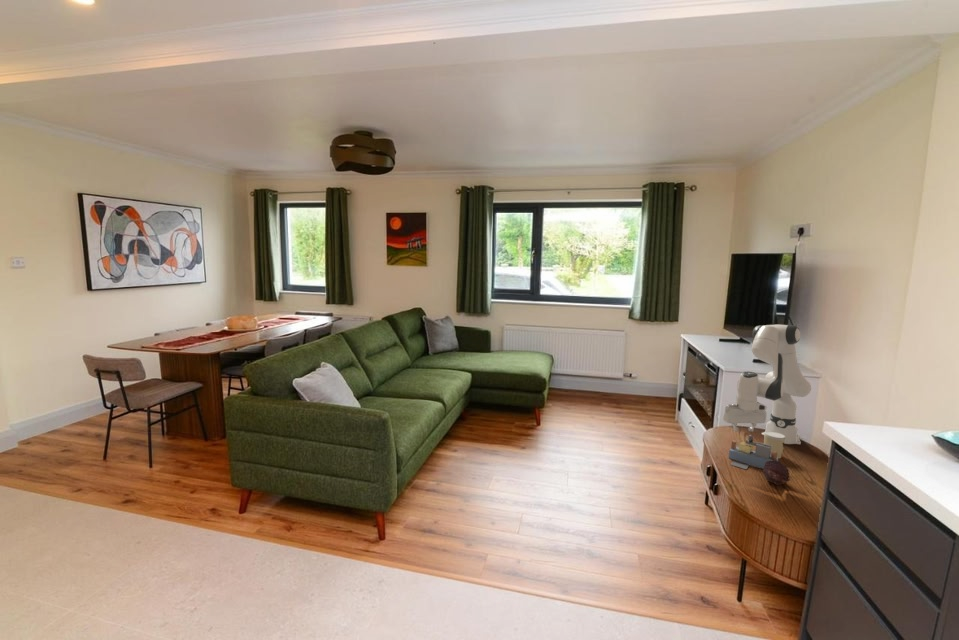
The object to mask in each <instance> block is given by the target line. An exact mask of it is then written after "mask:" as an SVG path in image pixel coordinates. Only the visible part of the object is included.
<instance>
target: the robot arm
mask: <svg viewBox="0 0 959 640" xmlns="http://www.w3.org/2000/svg"><path fill="white" fill-rule="evenodd" d="M800 338H801V331H800V329H799V327H797V326H796V325H794V324H778V323H777V324H766V325H764V324H761V325H760V324H759V325H756V326H755V327H754V328H753V329H752V339H753V341H752V345H751V351H752V352H751V353H752V354H753V355H754V357H755V358H756V359H758V360H760V361H762V362H764V363H766V364H768V365H770V366H771V367H772V371H769V372H767V373H766V374H765V377H764V378H763V377H759V375H758V373H756V372H754V371H743V372H741V373H740V374H739V377H738V381H737V386H736V388H737V394H736V398H735V404H732V403H730V404H728V405H726V406H725V409H724V413H723V418H722V419H723V421H724V422H725V423H727V424H731V425H732V427H733V428H732V429H733V430H732V431H733V432H737V433H738V432H739V429H740V428H739V427H737V425H738V424H751V425H750V426H748V429H747V431H748V432H750V433H751V432H753V433H754V429H755V428H756V427H757V424H765V425H766V426H765V431H764V432H761V435H762V436H764V433H765V432H776V433H780V434H782V435H784V436H785V442H784V445H802V444H801V443H802V442H801V440H800V439H801V438H800V437H799V435H798V428H797V427H796V423H797V418H796V414H797V404H796V402H795V401H794V400H793V398H792V396H793V397H797V398H804V397H807V396H808V395H810V393H811V392H812V385H811V383H810V382H809V381H808V380H807V379H806V378H805V376H804V375H803V373H802V372H801V370H800V368H799V364H798V360H797V359H798V358H797V352H796V346H795V344H797V343H798V342H799V341H800ZM757 397H759V398H763V399H766V400H771V401H772V407H771V408H772V409H771V413H770V419H769V420H768V421H767V411H766V410H767V408H768V407H767V405H765V404H763V403H761V402H758V398H757ZM766 421H767V422H766Z"/></svg>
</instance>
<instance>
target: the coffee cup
mask: <svg viewBox="0 0 959 640" xmlns="http://www.w3.org/2000/svg"><path fill="white" fill-rule="evenodd" d="M764 432H765V431H764ZM763 436H764V437H763V438H764V439H763V444H767V445H771V446H772V447H771V454H772V451H775V452H777V453H778V454H777V457H778V459H782V456H783V450H784V447H785V444H784V442H785V436H784V435H782V434H780V433H776V432H765V433H764V435H763Z"/></svg>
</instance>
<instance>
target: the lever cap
mask: <svg viewBox="0 0 959 640" xmlns="http://www.w3.org/2000/svg"><path fill="white" fill-rule="evenodd" d="M745 442H746V441H741V442H739V444H738V447H739V451H740V452H743V453H747V454H750V453H752V452H753V451H754V445H750V444H746V443H745Z"/></svg>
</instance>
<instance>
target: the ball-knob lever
mask: <svg viewBox="0 0 959 640" xmlns="http://www.w3.org/2000/svg"><path fill="white" fill-rule="evenodd" d="M744 442H745V443H746V444H750V445H753V447H756V444H758V445H762V446H764V445H763V444H764V443H763V444H759V443H760V442H759V443H757V442H755V441H754V435H752V434H749V435H748V437H747V439H746V440H745V441H744Z"/></svg>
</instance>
